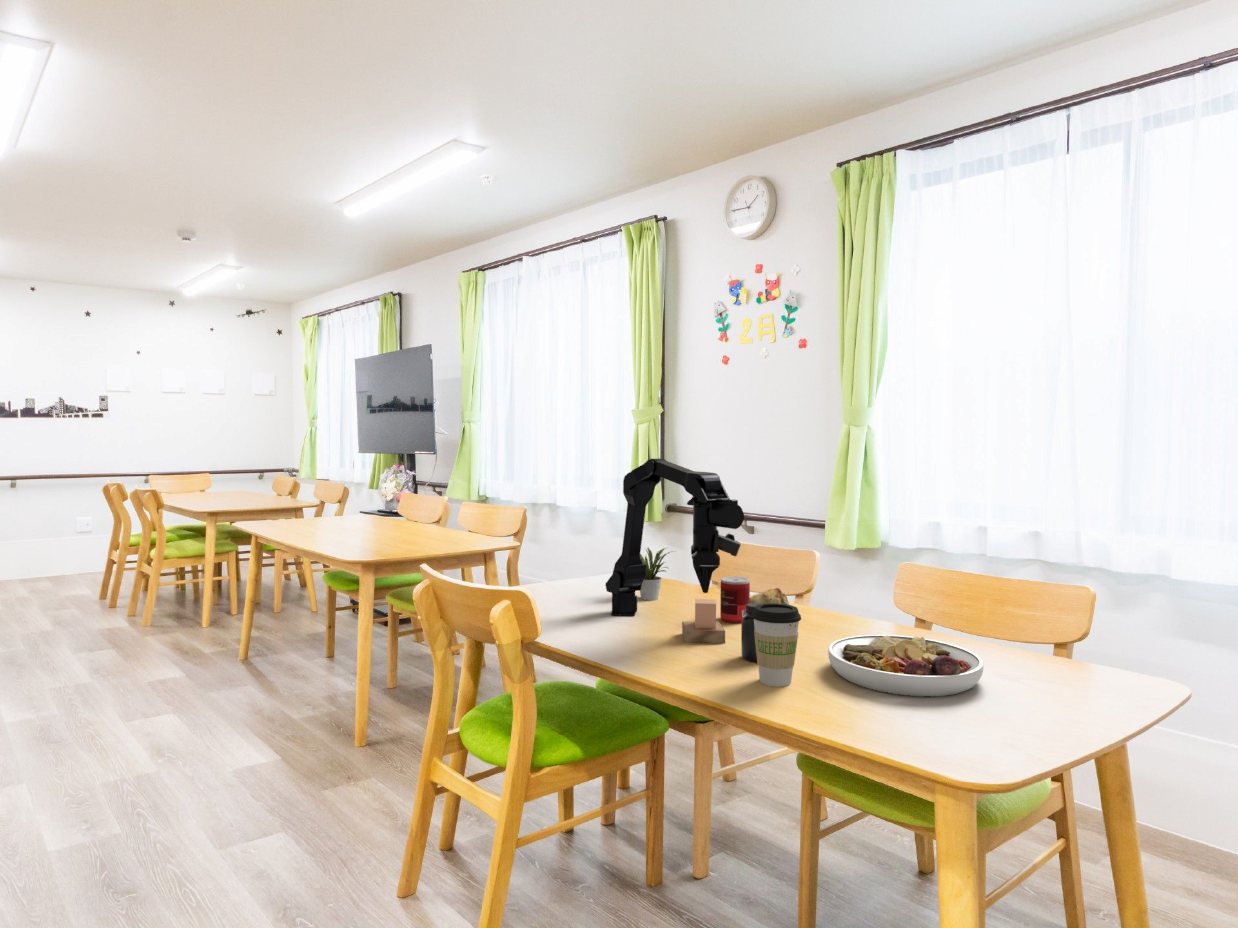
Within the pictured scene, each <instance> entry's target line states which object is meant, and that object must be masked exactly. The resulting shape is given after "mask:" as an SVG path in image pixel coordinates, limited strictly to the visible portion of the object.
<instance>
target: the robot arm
mask: <svg viewBox="0 0 1238 928" xmlns="http://www.w3.org/2000/svg"><path fill="white" fill-rule="evenodd" d="M663 479H665V480H667V481H669V482H672V483H675V484H678V485H680V486H681V487H683V488H684V490H685V492H686V493H688V494H689V495H690V496H692V497H691V498H690V499H689V500H688V501H687V502H686V505H687V506H692V509H693V510H692V511H693V512H692V515H693V516H692V519H693V520H692V544H691V546H690V555H691V559H692V566H693V570H694V572H695V574H696V578H697V579H698V582H699V587H700V588H701V590H702V593H703V594H708V592H709V588H710V584H711V579H712V575H713V573H714V572H715V571H716V570H717V569H718V568H719V567H720V565H721V557H720V554H718V553H719V551H722V552H724V553H727V554H730V556H733V557H737V556H738V554H739V550H740V548H741V545H742V543H741V542H739V541H738V540H736V538H735V534H731V533H726V535H725V536H724V535H721V534H720V533H719V530H718V528H725V529H732V530H737V529H739V528H740V527H741V526H742V525H743V523H744V519H745V513H744V511H743V508H742V507H741V506H740V505H739V503H738V502H739V500H738V499H735V498H734V499H731V498H730V496H729V494H728V492H727V490H726V489H725V487H724V484H723V483H722V480H721V478H720V475H718V474H717V473H716V472H710V471H696V470H695V471H694V470H692V469H689V468H687V467H684V466H681V465H678V464H676V463H673V462H671V461H667V460H666V459H665V458H649V459H648V460H646V461H645V462H644V463H643V464H641V465H639V466H637V467H636V468H634V469H632V470H631V471H630V472H628V473H626V475H624V476H623V481H622V482H623V483H622V486H623V487H622V489H623V490H622V493H623V496H624V498H625V501H626V502H627V506H626V516H625V523H624V524H625V525H624V533H623V539H622V540H623V541H622V548H621V549H622V551H621V554H620V555H619V558H618V559H617V560H616V562H615V563H614V566H613V571H612V574H611V575H610V577H609V578H608V580H607V581H606V582H605V589H606V592H608V593H611V612H610V615H611V616H626V617H628V616H633V617H634V616H635V615H636V613H637V612H638V595H636V591H639V592H640V590H641V587H642V583H643V581H644V579H645V578H646V577H645V571H646V564H643V562H642V560H641V558H640V554H641V550H642V542H643V541H642V540H643V534H644V533H643V532H644V528H645V526H644V525H645V518H646V517H645V516H646V509H647V505H648V504H649V503H650V500H652V498H653V496H654V493H655V489H656V486H657V485H659V483H660V482H661V481H662V480H663Z"/></svg>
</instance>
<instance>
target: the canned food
mask: <svg viewBox="0 0 1238 928" xmlns="http://www.w3.org/2000/svg"><path fill="white" fill-rule="evenodd" d="M750 593H751V585H750V579H749V578H747V577H743V576H724V577H722V578H720V607H719V608H720V612H719V613H720V614H719V615H720V620H721V621H722V622H724V623H726V624H727V623H729V624H741V623H742V619H743V617H745V616H746V615H747V613H746V604H749V601H750V598H751V596H750Z"/></svg>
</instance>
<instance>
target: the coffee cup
mask: <svg viewBox="0 0 1238 928" xmlns="http://www.w3.org/2000/svg"><path fill="white" fill-rule="evenodd" d="M751 617H752V618H753V619H754V627H755V630H754V635H755V644H756V654H757V662H756V663H757V666H758V674H759V676H758V677H759V682H760V683H761V684H762V685H765V686H769V687H774V688H775V687H776V688H778V687H779V688H781V687H787V686H790V685H791V684H792V678H793V669H794V666H795V663H796V662H795V661H796V655H797V654H796V653H797V647H798V646H797V645H798V637H799V631H798V630H799V624H800V622H801V620H802V615H801V614H800V612H799V608H798V607H796V606H795V605H790V604H789V605H787V604H778V603H766V604H759V605H756V606H755V609H754V611H753V612H752V616H751Z"/></svg>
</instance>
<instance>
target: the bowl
mask: <svg viewBox="0 0 1238 928" xmlns="http://www.w3.org/2000/svg"><path fill="white" fill-rule="evenodd" d="M827 649H828V651H827V652H828V653H827V656H828V659H829V662H830V665H831V667H832V668H833V670H834V671H835V672H836V673H837V674H838V675H839V676H841V677H842V678H844V679H845V680H847V681H849V682H851V683H852V684H855V685H857V686H860V687H863V688H865V687H866V689H869V690H872V689H873V691H876V690H877V692H881V693H886V692H888V693H887V694H891V693H893V695H898V694H901V695H900V696H907V695H910V696H909V697H924V696H931V697H946V696H950V695H957V694H960V693H963V692H965V691H968V690H970V689H972V688H973V687H974V686H976V685H977V684H978V682H979V681H980V679H981V678H982V676H983V672H984V662H983V660H982V658H981V657H980V656H979V655H977V654H976V653H975V652H972V651H971V650H968V649H966V648H964V647H961V646H957V645H954V644H951V643H947V642H943V641H939V640H934V639H929V638H924V637H923V636H921V637H919V636H908V635H907V636H905V635H895V634H894V635H893V634H892V635H891V634H871V635H870V634H866V635H865V634H863V635H855V636H849V637H843V638H840V639H837V640H835V641H833V642H831V643H830V644H829V645H828V648H827Z"/></svg>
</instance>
